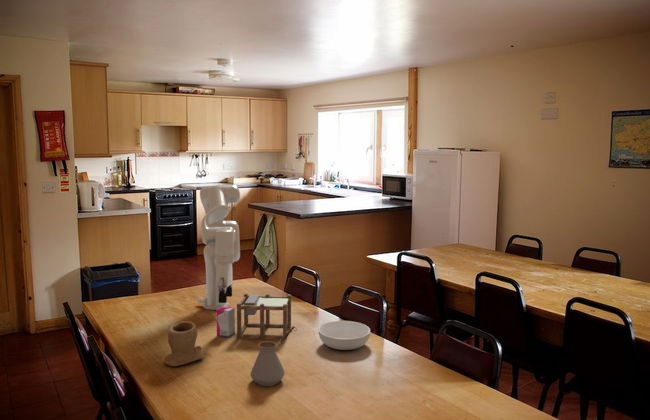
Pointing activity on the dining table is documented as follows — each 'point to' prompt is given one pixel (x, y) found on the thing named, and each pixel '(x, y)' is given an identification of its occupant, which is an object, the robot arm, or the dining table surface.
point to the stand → (285, 325)
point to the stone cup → (183, 344)
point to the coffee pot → (268, 363)
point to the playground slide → (263, 302)
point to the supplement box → (225, 321)
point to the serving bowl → (344, 334)
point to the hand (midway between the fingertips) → (225, 299)
